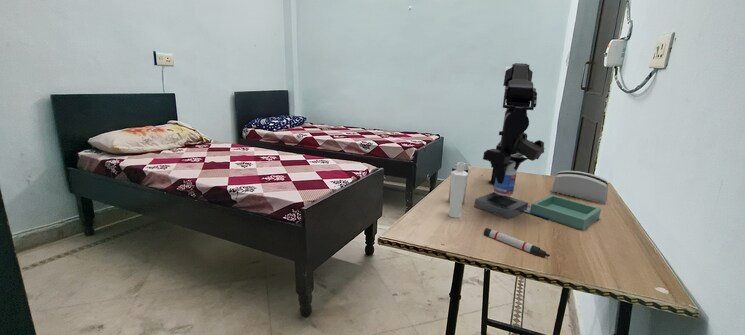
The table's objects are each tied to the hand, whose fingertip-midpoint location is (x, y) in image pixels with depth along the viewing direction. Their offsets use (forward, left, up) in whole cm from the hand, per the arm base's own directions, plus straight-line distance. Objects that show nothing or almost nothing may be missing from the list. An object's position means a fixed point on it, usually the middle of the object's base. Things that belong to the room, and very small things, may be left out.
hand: (504, 181), depth 101 cm
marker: (+14, -19, -9) cm, 25 cm away
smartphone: (+5, +7, -9) cm, 13 cm away
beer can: (-11, -7, -9) cm, 16 cm away
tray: (+14, +11, -8) cm, 20 cm away
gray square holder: (0, 0, -8) cm, 8 cm away
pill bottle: (0, 0, -4) cm, 4 cm away
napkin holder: (+10, +34, -9) cm, 37 cm away
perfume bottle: (-5, -16, -9) cm, 19 cm away
